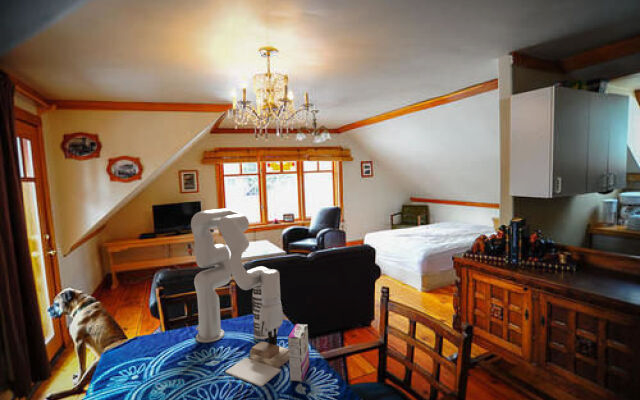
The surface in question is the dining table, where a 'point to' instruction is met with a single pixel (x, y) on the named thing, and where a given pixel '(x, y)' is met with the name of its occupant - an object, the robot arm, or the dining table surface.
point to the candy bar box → (298, 352)
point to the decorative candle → (257, 312)
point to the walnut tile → (265, 350)
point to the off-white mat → (253, 371)
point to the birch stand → (273, 358)
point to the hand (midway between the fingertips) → (272, 344)
